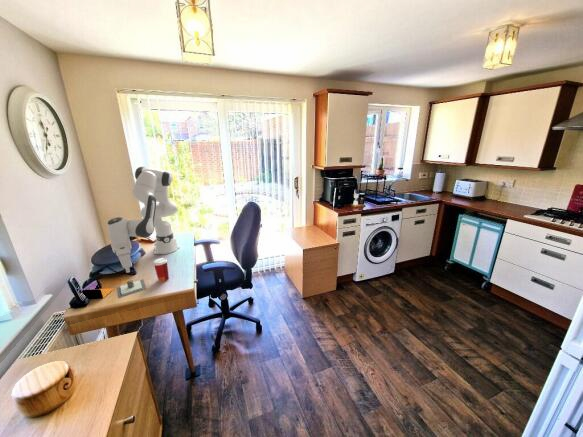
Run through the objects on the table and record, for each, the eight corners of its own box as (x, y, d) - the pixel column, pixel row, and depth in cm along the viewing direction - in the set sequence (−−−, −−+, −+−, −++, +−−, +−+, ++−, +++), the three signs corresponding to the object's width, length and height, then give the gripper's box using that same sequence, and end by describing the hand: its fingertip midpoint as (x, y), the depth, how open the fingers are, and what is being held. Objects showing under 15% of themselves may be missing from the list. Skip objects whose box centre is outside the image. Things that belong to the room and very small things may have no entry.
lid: (120, 287, 142) (118, 280, 141) (140, 281, 148) (138, 275, 146) (122, 295, 134) (120, 288, 133) (142, 288, 140) (140, 282, 139)
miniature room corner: (81, 302, 130) (77, 291, 128) (97, 289, 142) (94, 279, 140) (103, 301, 131) (100, 290, 129) (117, 288, 142) (115, 278, 140)
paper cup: (168, 275, 155) (164, 256, 151) (172, 280, 150) (168, 260, 146) (155, 280, 150) (150, 260, 146) (159, 285, 145) (154, 264, 140)
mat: (116, 288, 142) (116, 287, 142) (143, 279, 151) (143, 279, 150) (118, 299, 132) (118, 298, 132) (147, 290, 140) (146, 289, 140)
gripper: (113, 242, 139) (119, 264, 143) (116, 254, 124) (122, 277, 128) (126, 240, 143) (131, 260, 147) (130, 250, 127) (136, 273, 131)
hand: (127, 268), depth 137 cm, fingers open, 8 cm apart
